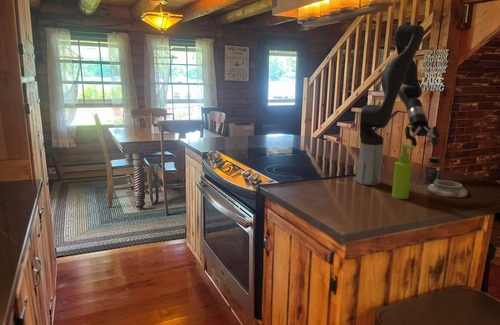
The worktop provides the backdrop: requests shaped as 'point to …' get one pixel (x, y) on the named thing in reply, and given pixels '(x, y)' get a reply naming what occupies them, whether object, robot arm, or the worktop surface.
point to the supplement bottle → (432, 170)
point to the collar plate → (447, 194)
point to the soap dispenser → (402, 175)
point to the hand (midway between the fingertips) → (425, 145)
